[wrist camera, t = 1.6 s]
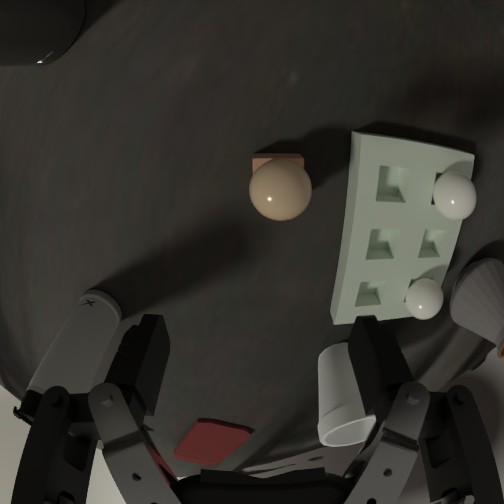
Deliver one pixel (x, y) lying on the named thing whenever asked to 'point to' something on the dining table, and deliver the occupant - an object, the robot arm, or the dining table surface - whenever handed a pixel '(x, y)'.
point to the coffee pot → (481, 300)
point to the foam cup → (340, 400)
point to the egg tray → (393, 224)
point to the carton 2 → (210, 441)
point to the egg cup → (264, 157)
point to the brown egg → (280, 189)
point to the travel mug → (74, 351)
